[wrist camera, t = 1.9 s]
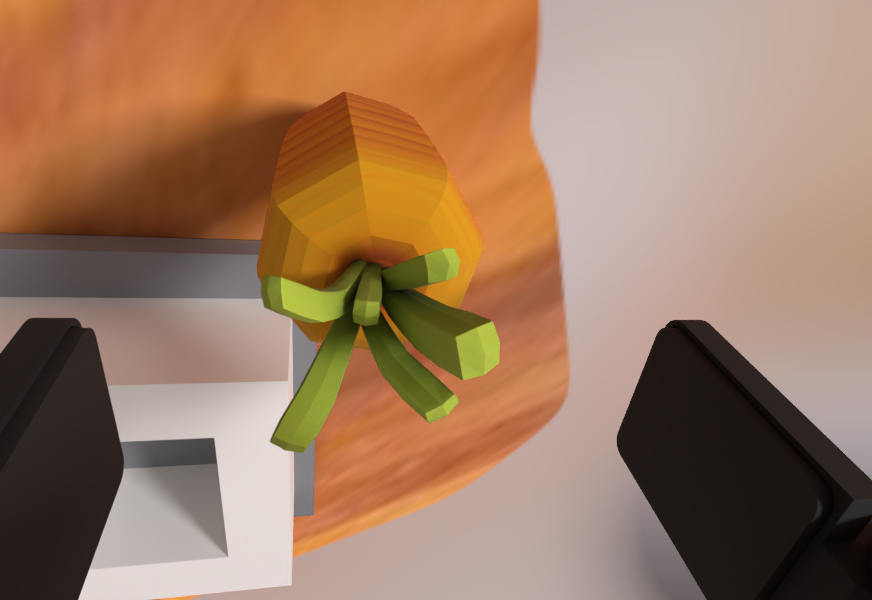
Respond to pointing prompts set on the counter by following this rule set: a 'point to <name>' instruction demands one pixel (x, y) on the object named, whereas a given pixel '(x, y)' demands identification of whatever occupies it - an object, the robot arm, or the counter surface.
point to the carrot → (370, 259)
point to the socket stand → (179, 404)
